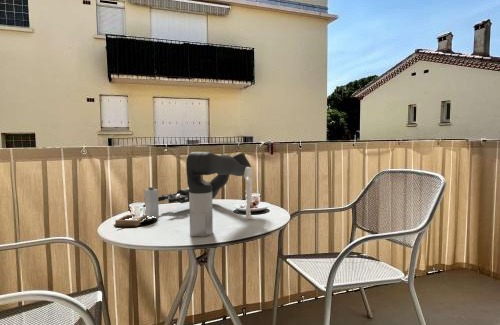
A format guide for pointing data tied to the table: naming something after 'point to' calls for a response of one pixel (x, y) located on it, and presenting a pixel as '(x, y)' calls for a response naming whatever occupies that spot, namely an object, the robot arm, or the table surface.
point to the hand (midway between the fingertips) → (163, 200)
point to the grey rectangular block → (151, 202)
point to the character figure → (248, 190)
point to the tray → (129, 221)
